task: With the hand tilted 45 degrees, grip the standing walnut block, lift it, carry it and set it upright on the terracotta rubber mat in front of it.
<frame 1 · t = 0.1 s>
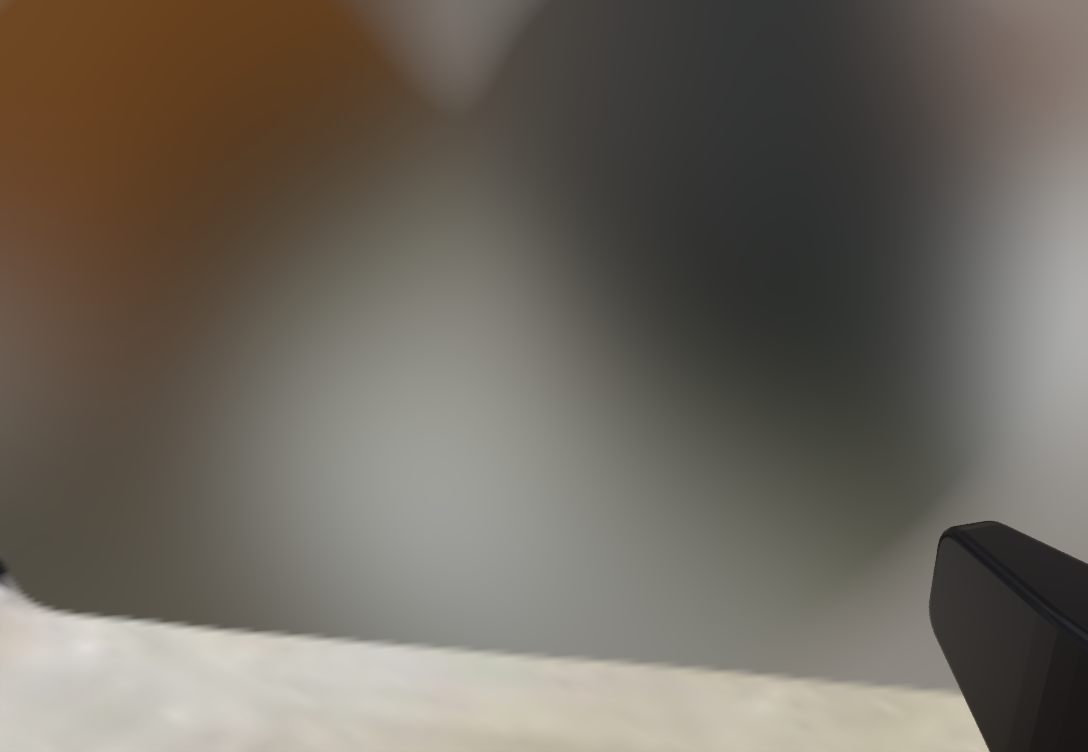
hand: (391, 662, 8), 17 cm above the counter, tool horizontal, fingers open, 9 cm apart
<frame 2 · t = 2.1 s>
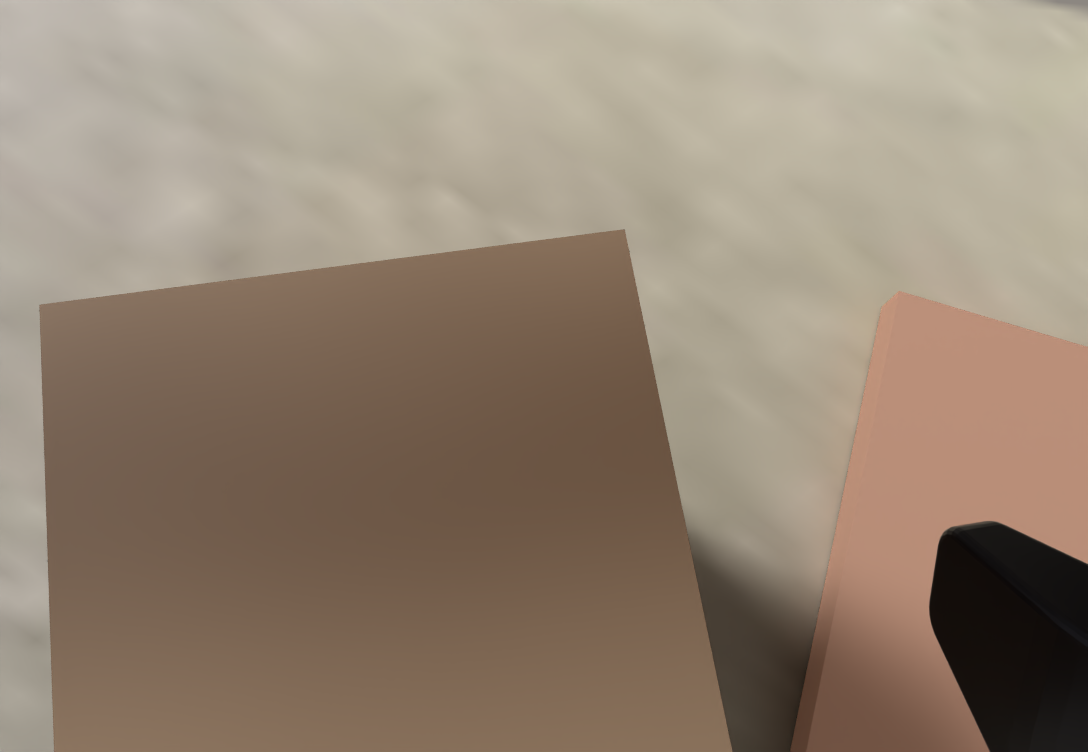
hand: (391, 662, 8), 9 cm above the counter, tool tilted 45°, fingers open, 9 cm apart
walnut block: (428, 617, 17), on the counter
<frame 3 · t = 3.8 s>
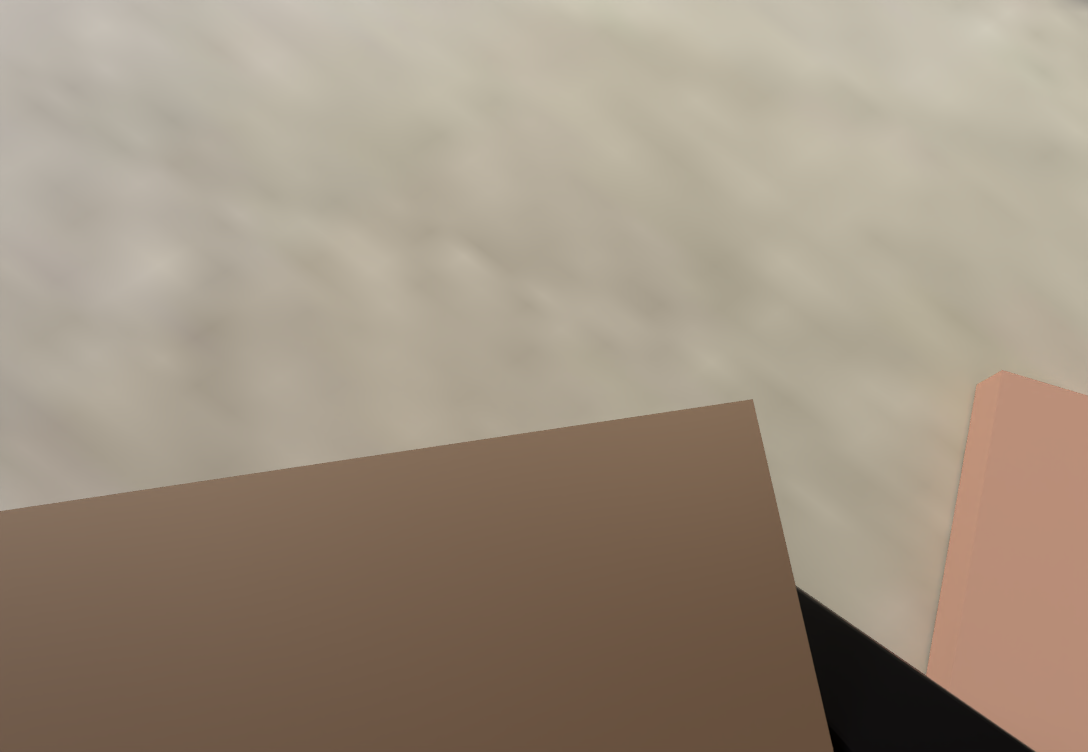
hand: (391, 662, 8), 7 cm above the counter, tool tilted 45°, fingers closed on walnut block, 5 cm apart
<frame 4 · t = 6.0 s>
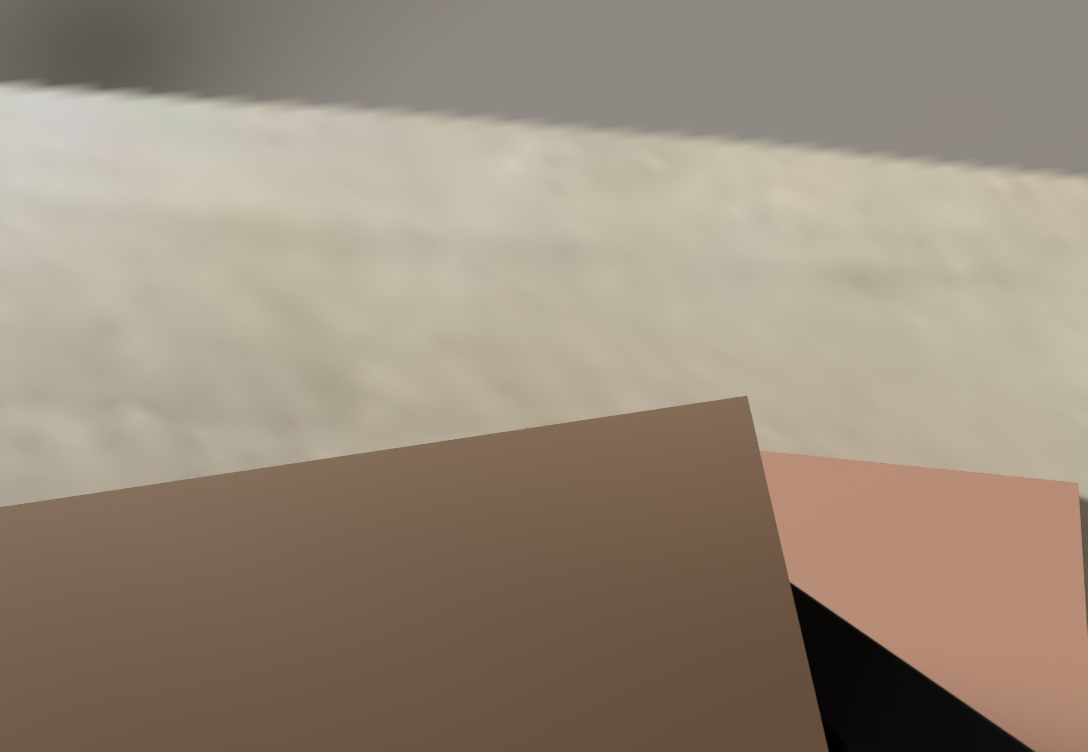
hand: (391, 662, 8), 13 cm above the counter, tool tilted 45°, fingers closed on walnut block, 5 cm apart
terracotta mat: (788, 749, 21), on the counter
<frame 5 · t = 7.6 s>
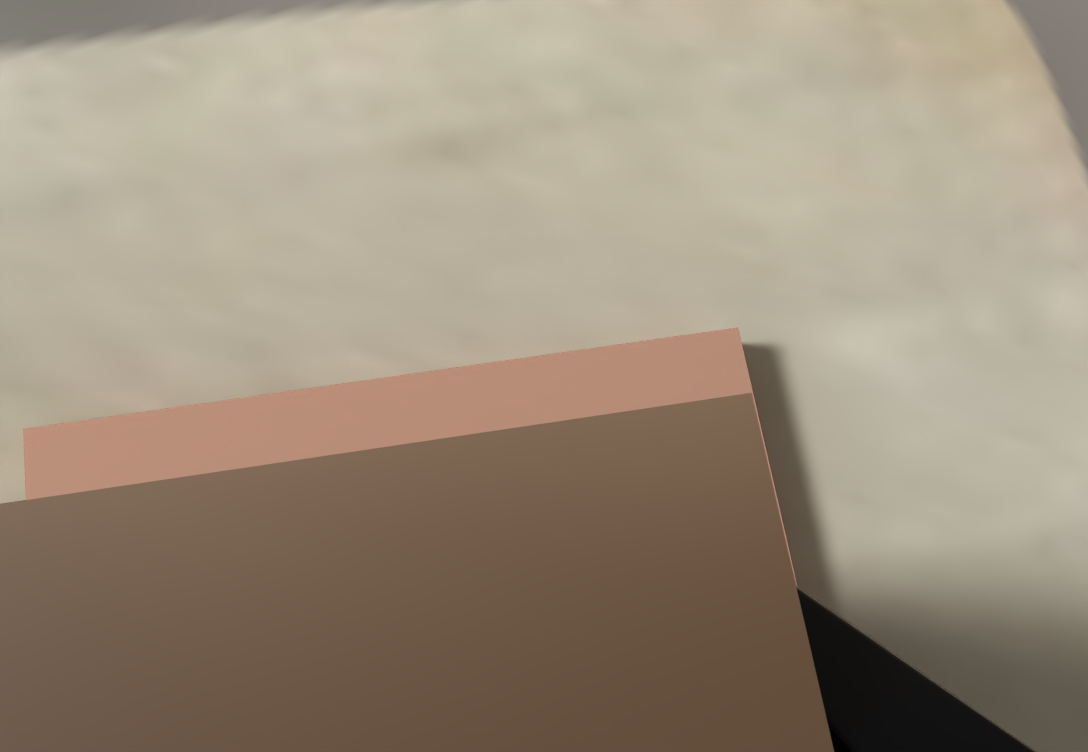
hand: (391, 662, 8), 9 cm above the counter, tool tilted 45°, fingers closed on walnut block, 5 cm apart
terracotta mat: (445, 745, 16), on the counter
when the fingers open (8 cm above the counter, at t = 8.6 s): walnut block drops 1 cm, resting on terracotta mat.
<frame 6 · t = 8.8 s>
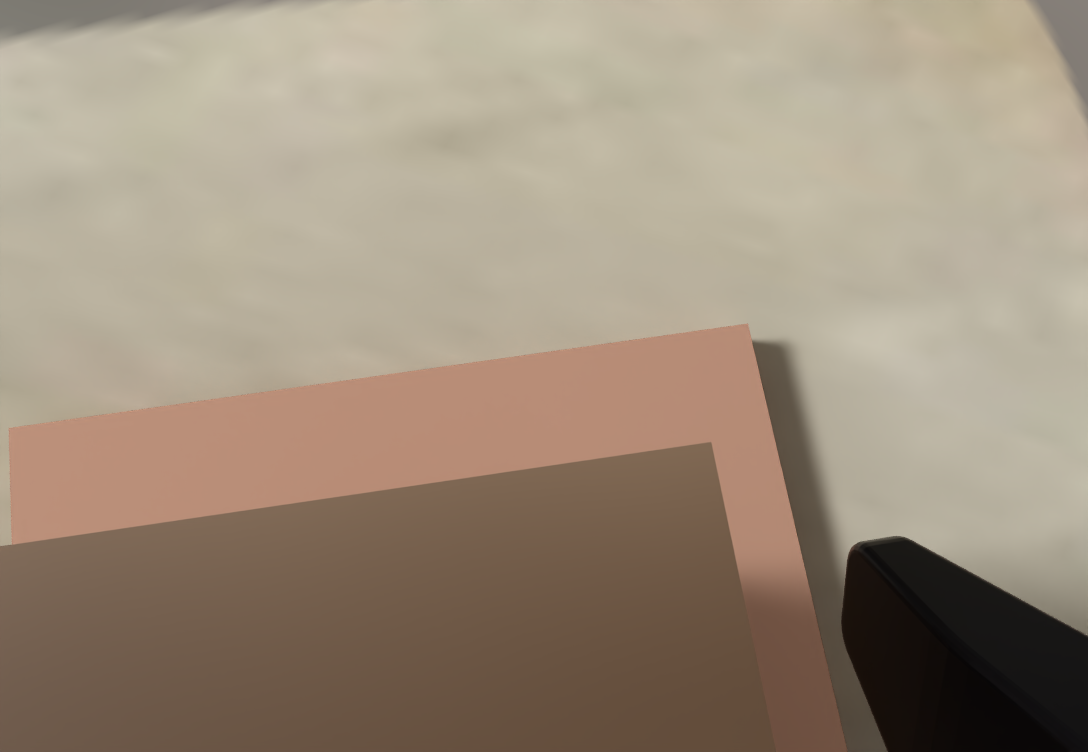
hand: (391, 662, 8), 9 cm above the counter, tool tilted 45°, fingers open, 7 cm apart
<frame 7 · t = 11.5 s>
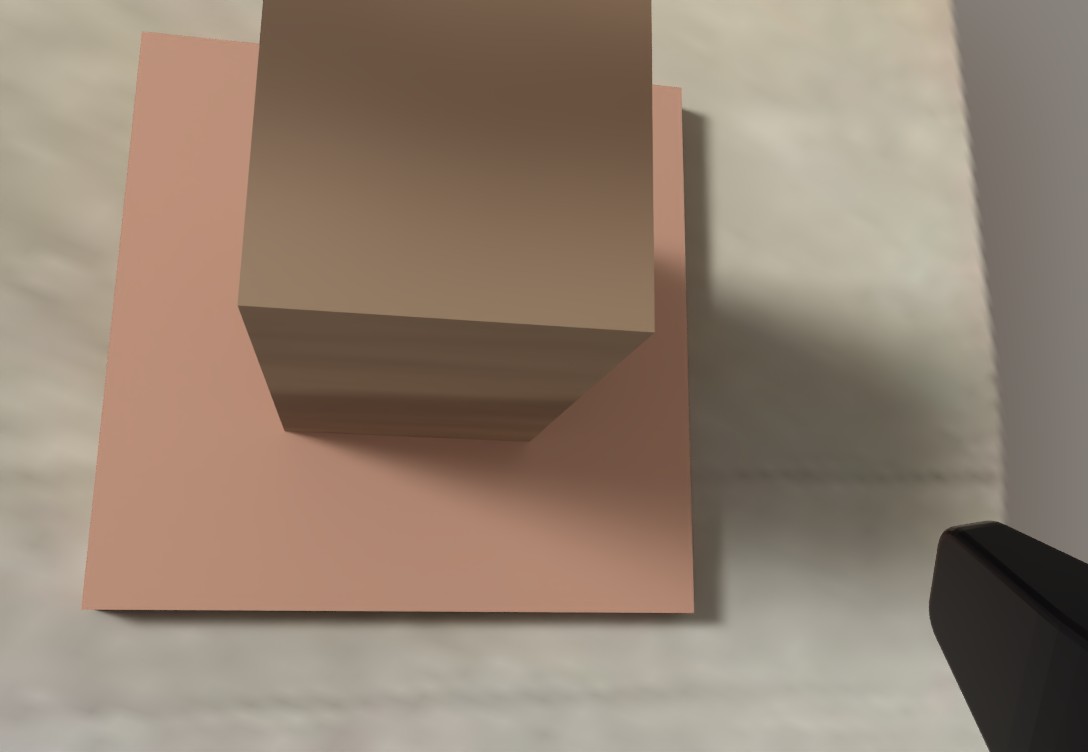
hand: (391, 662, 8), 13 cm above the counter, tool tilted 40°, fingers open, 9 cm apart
walnut block: (414, 319, 21), point 1 cm above the counter, touching terracotta mat
terracotta mat: (412, 328, 22), on the counter
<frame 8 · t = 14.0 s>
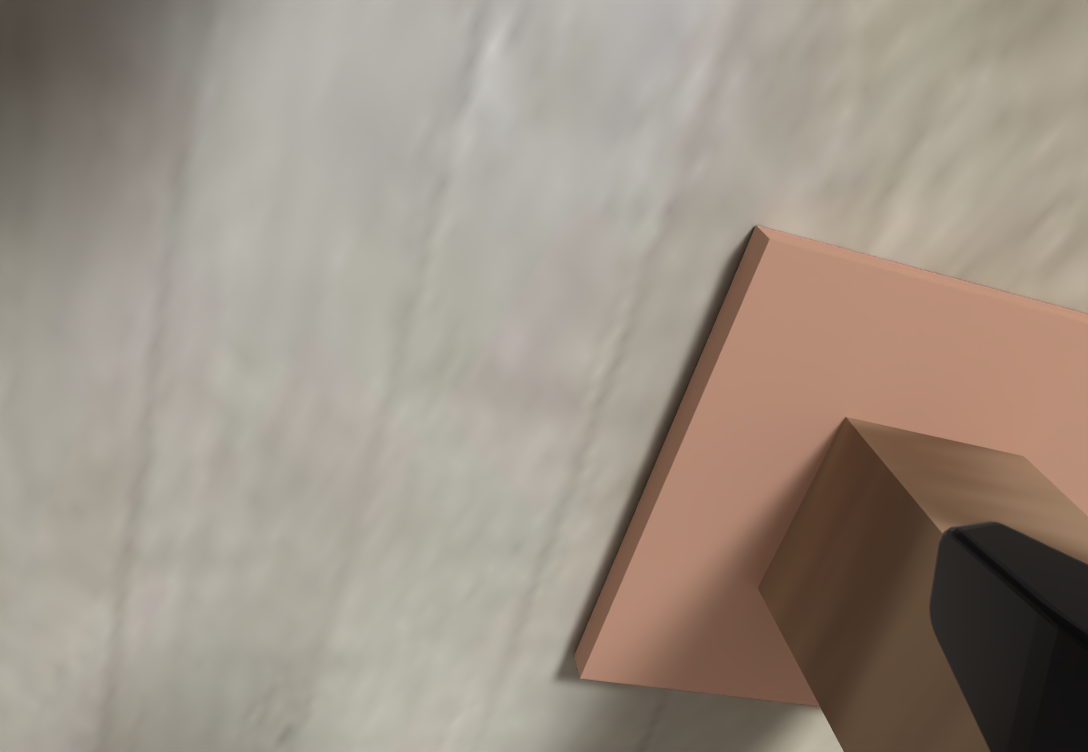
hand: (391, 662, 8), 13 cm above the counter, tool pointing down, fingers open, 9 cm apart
walnut block: (888, 523, 24), point 1 cm above the counter, touching terracotta mat
terracotta mat: (874, 504, 25), on the counter
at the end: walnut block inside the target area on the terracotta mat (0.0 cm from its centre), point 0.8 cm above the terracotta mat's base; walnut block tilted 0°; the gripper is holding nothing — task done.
